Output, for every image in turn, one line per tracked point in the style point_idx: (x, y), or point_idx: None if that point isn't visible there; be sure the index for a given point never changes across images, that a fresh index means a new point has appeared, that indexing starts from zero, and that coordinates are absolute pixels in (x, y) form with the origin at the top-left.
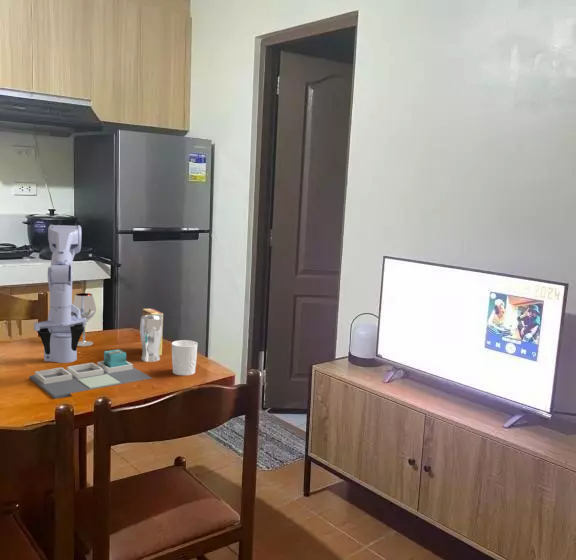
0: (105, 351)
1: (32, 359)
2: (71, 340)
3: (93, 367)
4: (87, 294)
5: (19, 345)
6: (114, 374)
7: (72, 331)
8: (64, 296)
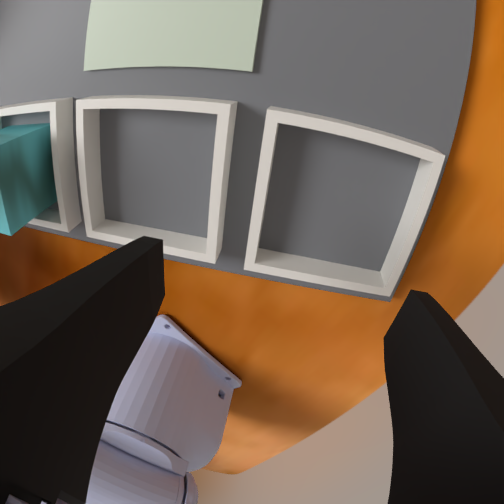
0: (6, 232)
1: (246, 414)
2: (128, 365)
3: (99, 203)
4: None
5: (221, 461)
6: (61, 65)
7: (73, 444)
8: None
